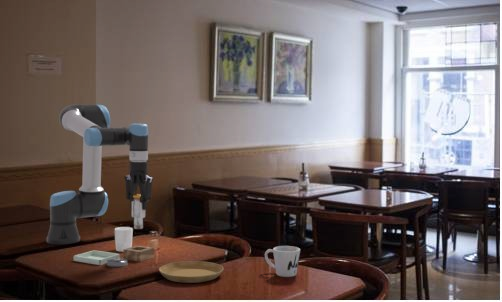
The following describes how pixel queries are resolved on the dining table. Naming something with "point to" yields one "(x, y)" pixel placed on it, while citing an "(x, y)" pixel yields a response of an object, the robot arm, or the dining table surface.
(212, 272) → the plant saucer
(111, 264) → the pulley wheel
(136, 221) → the glass jar
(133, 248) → the socket block
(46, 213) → the dining table surface
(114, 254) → the tray
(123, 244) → the white cup
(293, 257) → the mug
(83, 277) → the dining table surface
